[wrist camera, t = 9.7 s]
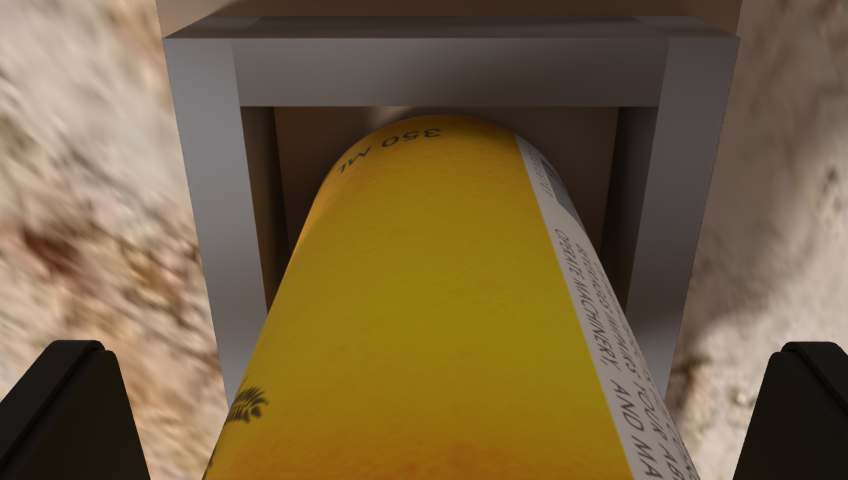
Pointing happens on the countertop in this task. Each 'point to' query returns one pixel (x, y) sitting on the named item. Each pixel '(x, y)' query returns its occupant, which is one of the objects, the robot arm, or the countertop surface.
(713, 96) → the wooden tray with frame
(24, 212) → the countertop surface
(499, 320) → the beer can
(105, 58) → the countertop surface
